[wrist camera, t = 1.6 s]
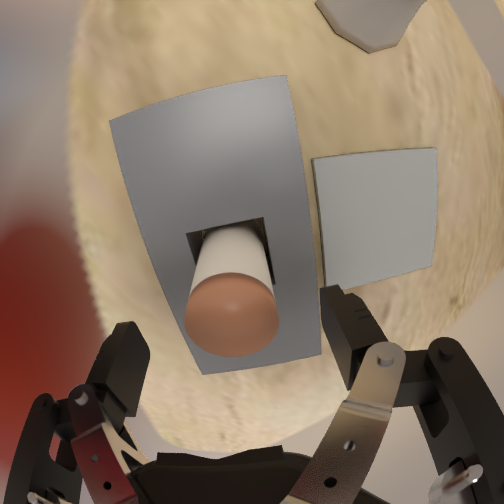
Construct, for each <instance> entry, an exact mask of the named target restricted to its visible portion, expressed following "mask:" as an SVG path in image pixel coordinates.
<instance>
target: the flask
mask: <svg viewBox="0 0 504 504" xmlns="http://www.w3.org/2000/svg"><path fill="white" fill-rule="evenodd" d="M425 1H427V0H317V1H316V5H317V6H318V8H319V9H320V10H321V12H322V13H323V15H324V16H325V17H326V19H327V20H328V22H329V23H330V25H331V26H332V28H333V29H334V31H335V33H337V34H339V35H340V36H342V37H344V38H346V39H347V40H349V41H351V42H352V43H354V44H356V45H357V46H359V47H361V48H362V49H364V50H365V51H367V52H368V53H372V52H375V51H378V50H382V49H386V48H390V47H394V46H396V45H397V44H398V42H399V41H400V39H401V37H402V36H403V34H404V32H405V30H406V28H407V27H408V25H409V23H410V22H411V20H412V19H413V17H414V16H415V14H416V13H417V11H418V10H419V8H420V6H421V5H422V4H423V3H424V2H425Z"/></svg>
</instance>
